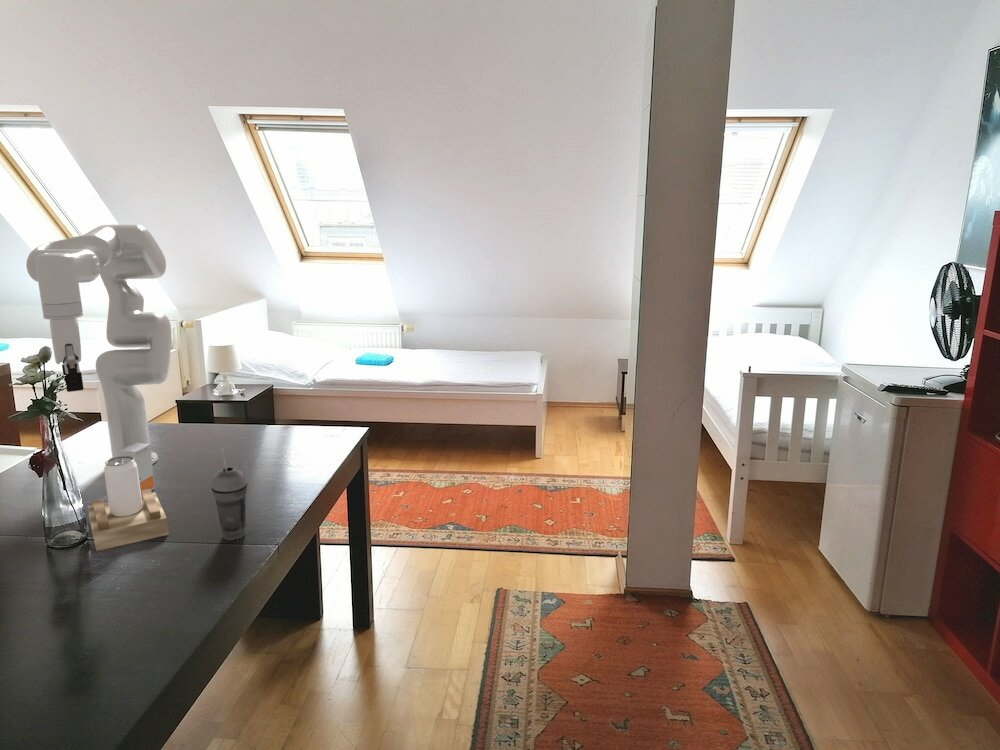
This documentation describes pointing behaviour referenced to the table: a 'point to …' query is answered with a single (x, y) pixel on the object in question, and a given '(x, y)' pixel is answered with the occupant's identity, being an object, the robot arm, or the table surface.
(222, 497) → the beverage cup
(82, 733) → the table surface
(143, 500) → the plinth
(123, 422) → the robot arm
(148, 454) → the skincare box
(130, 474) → the can
